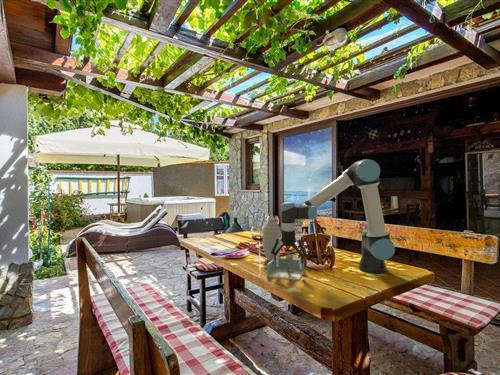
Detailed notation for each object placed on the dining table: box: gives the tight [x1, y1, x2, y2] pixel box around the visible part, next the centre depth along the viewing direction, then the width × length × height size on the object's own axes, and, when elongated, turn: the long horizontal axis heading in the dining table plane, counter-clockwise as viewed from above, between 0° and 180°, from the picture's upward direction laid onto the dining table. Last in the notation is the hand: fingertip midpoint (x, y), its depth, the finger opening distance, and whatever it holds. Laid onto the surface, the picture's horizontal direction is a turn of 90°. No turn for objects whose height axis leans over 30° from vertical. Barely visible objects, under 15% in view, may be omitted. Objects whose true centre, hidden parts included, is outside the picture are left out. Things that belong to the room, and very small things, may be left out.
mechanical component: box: [285, 253, 294, 274], centre depth 167 cm, size 3×10×10 cm, turn 160°
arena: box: [266, 257, 305, 281], centre depth 169 cm, size 18×15×7 cm
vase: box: [262, 217, 283, 262], centre depth 198 cm, size 13×13×28 cm
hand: (288, 267), depth 167 cm, fingers open, 13 cm apart
